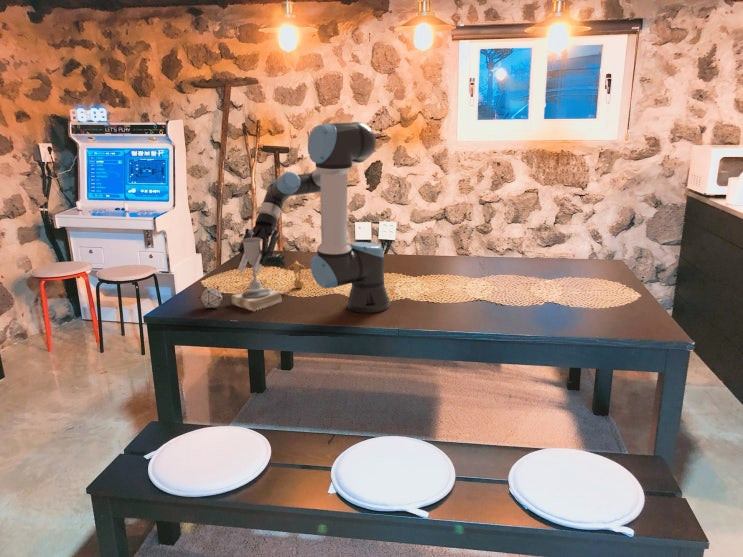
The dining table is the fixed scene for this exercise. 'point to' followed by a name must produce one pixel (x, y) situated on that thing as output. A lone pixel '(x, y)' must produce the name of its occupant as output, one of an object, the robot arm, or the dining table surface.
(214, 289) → the game die
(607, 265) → the dining table surface
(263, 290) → the pedestal
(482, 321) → the dining table surface
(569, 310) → the dining table surface
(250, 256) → the chalice
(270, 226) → the robot arm
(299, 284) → the figurine
